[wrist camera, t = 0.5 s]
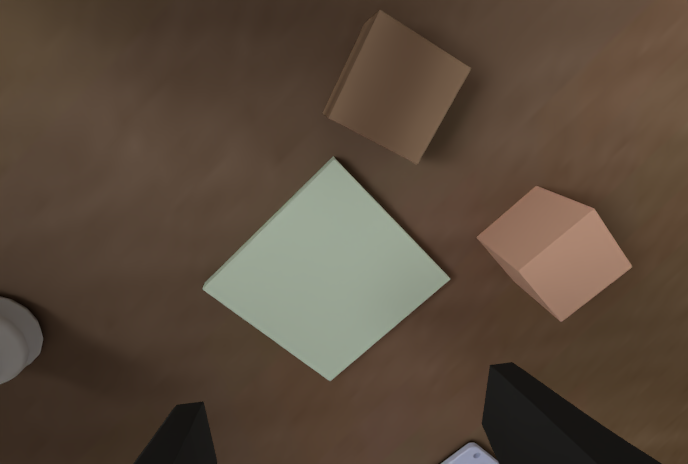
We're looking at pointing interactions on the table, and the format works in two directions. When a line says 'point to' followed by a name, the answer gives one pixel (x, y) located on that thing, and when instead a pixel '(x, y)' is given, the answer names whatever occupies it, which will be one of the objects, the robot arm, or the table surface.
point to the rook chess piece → (17, 338)
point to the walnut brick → (395, 87)
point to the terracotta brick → (555, 250)
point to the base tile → (327, 273)
